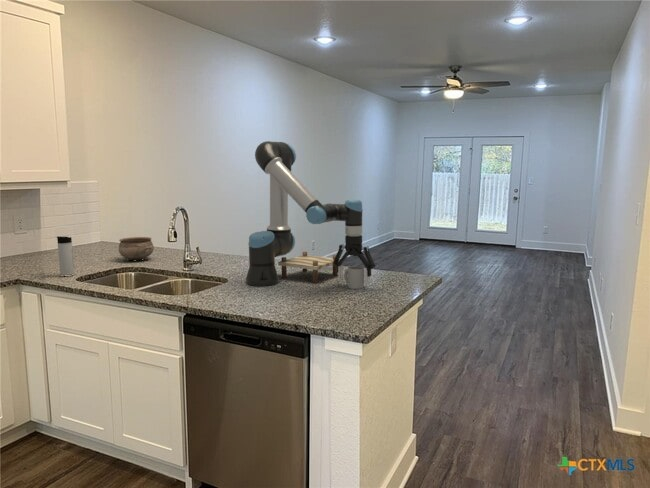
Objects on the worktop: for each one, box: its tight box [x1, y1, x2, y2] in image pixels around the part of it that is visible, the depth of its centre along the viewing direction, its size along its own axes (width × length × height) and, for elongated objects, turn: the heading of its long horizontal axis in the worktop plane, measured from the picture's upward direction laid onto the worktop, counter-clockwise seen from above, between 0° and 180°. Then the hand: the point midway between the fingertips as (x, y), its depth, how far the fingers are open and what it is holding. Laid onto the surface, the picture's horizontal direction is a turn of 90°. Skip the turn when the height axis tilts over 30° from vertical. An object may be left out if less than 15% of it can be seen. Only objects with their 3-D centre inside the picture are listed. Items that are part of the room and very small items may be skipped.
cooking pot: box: [118, 236, 155, 261], centre depth 287 cm, size 25×19×12 cm
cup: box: [343, 265, 365, 290], centre depth 224 cm, size 7×10×9 cm
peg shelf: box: [277, 251, 341, 284], centre depth 244 cm, size 22×22×10 cm
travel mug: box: [56, 236, 75, 276], centre depth 246 cm, size 6×7×20 cm
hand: (353, 281), depth 224 cm, fingers open, 13 cm apart
